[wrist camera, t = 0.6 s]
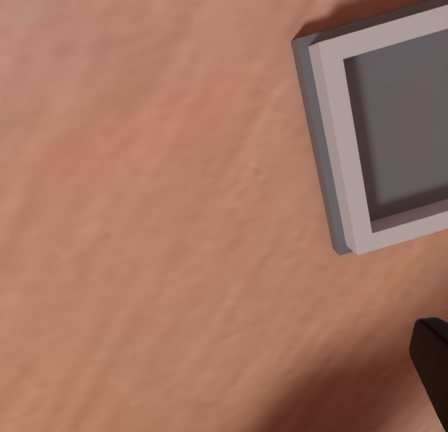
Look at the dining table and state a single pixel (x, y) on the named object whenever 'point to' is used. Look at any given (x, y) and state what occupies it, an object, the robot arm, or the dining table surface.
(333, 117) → the dock
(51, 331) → the dining table surface
